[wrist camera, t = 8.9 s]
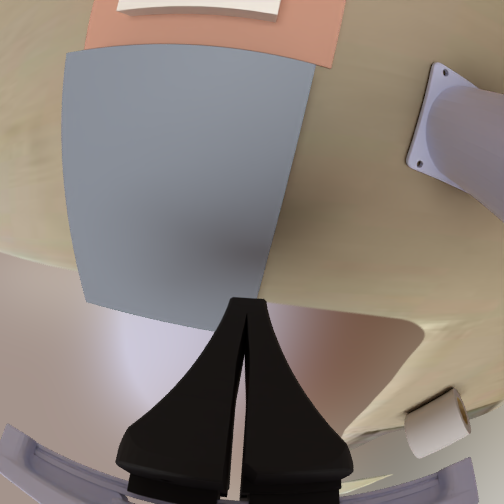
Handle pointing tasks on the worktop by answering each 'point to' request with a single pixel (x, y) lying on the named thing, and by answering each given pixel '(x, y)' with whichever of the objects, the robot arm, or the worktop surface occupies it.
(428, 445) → the toilet paper
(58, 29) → the worktop surface
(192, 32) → the terracotta mat
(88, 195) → the plate
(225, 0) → the white rectangular block
